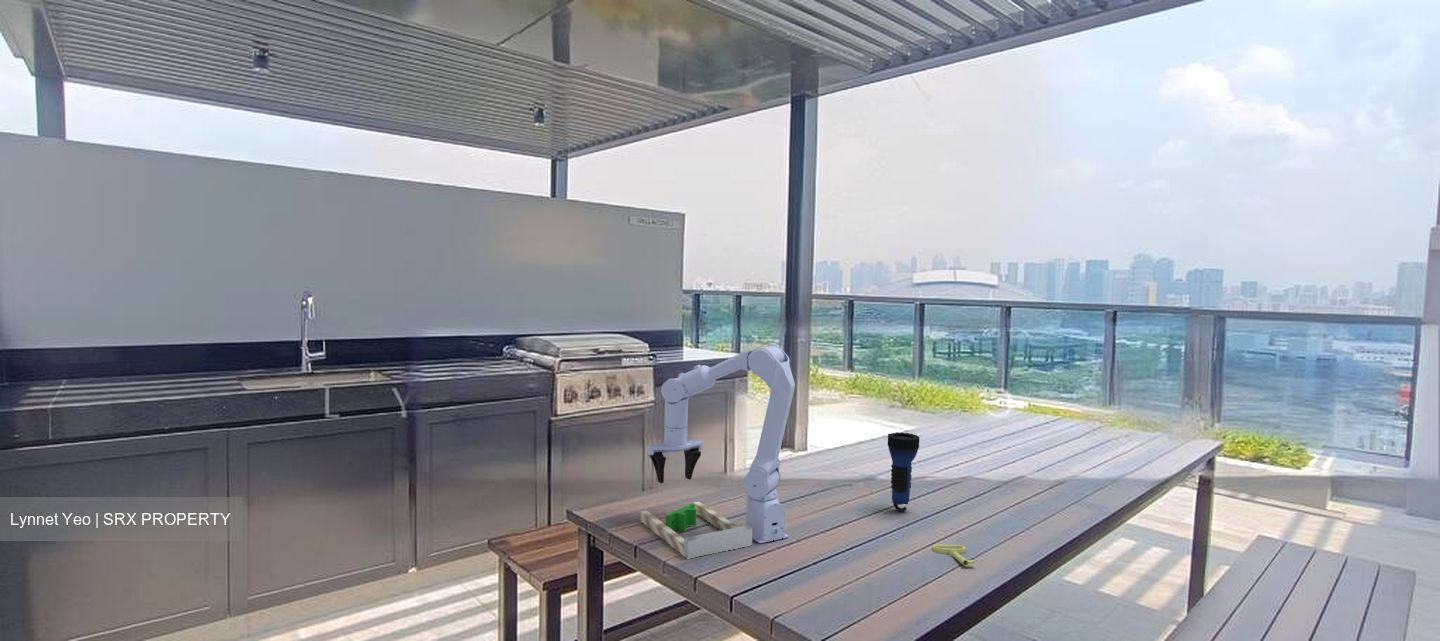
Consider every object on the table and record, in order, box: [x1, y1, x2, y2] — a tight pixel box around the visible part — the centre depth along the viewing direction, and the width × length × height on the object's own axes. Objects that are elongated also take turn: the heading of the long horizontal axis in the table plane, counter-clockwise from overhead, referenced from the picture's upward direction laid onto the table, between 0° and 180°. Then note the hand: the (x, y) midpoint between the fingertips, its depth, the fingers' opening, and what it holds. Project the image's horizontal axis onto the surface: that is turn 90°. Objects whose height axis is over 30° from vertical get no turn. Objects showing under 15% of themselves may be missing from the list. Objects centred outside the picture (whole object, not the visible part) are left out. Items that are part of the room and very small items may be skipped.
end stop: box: [683, 525, 753, 560], centre depth 140 cm, size 2×16×4 cm, turn 119°
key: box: [931, 544, 976, 567], centre depth 139 cm, size 7×12×2 cm, turn 19°
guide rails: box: [640, 501, 740, 557], centre depth 152 cm, size 24×16×2 cm, turn 29°
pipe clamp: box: [665, 503, 697, 532], centre depth 155 cm, size 10×4×4 cm, turn 147°
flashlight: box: [887, 432, 920, 512], centre depth 168 cm, size 8×8×20 cm
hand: (674, 480), depth 160 cm, fingers open, 7 cm apart
